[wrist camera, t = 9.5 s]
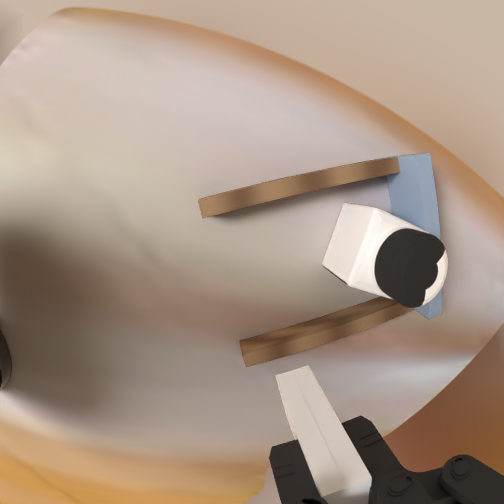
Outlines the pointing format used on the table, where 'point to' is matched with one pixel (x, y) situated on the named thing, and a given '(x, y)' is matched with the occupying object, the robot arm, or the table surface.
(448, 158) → the table surface
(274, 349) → the guide channel
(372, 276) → the medicine bottle
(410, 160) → the end stop
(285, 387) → the robot arm
